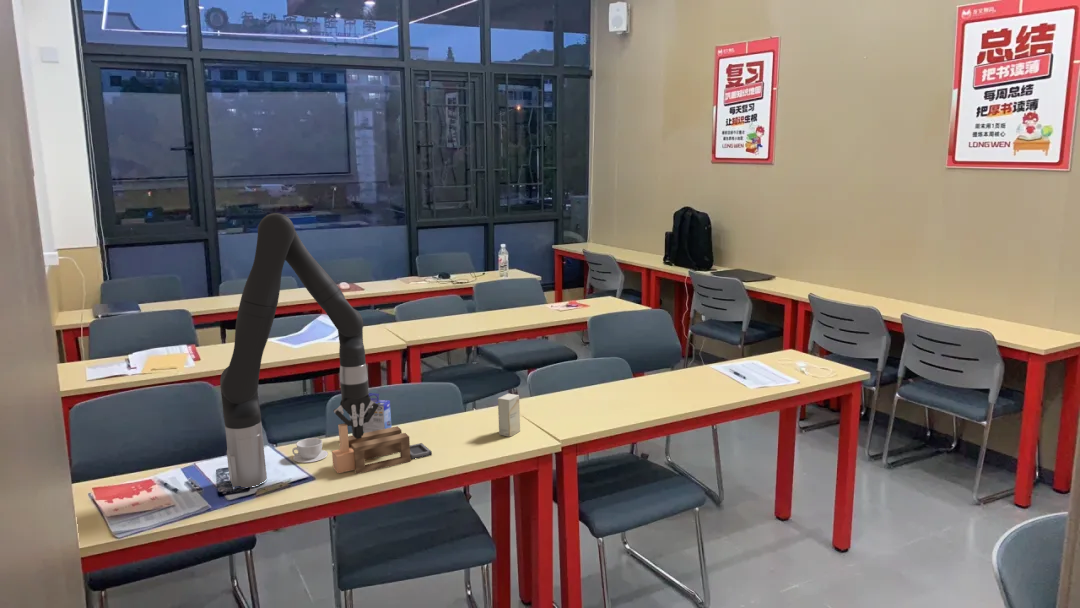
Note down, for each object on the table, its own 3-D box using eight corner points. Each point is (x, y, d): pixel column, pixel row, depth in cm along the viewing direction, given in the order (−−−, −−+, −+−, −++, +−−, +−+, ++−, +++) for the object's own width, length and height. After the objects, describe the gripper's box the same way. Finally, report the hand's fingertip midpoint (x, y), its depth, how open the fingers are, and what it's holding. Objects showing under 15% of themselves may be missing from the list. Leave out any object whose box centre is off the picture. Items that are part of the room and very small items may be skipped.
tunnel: (356, 473, 216) (354, 447, 214) (346, 461, 224) (344, 437, 223) (410, 461, 223) (409, 436, 222) (398, 450, 232) (397, 426, 230)
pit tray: (412, 459, 225) (412, 455, 224) (403, 450, 232) (402, 447, 231) (431, 455, 228) (431, 451, 227) (421, 446, 234) (421, 442, 234)
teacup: (323, 448, 235) (321, 434, 234) (331, 459, 227) (330, 444, 226) (289, 455, 231) (288, 440, 230) (297, 466, 222) (295, 451, 221)
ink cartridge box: (393, 436, 244) (390, 392, 241) (386, 443, 238) (383, 398, 235) (364, 434, 246) (361, 391, 243) (356, 441, 240) (353, 397, 237)
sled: (338, 473, 215) (334, 429, 213) (333, 467, 220) (329, 424, 217) (358, 468, 218) (355, 425, 216) (353, 462, 223) (350, 420, 220)
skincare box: (510, 437, 240) (508, 400, 238) (498, 435, 243) (497, 398, 240) (520, 431, 246) (519, 394, 243) (509, 428, 248) (508, 392, 246)
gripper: (334, 386, 210) (338, 446, 213) (381, 378, 216) (384, 437, 219) (326, 380, 216) (331, 438, 219) (372, 372, 222) (376, 429, 226)
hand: (358, 437), depth 219 cm, fingers closed
